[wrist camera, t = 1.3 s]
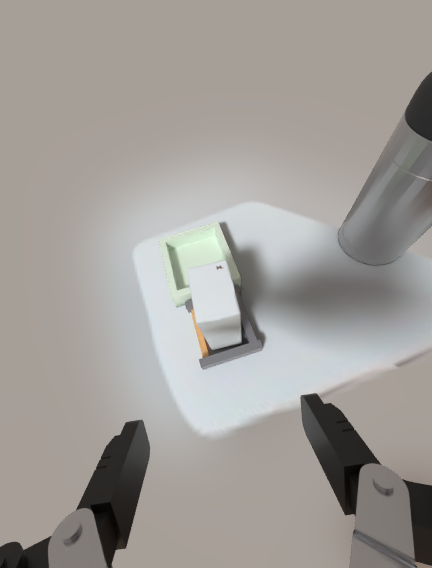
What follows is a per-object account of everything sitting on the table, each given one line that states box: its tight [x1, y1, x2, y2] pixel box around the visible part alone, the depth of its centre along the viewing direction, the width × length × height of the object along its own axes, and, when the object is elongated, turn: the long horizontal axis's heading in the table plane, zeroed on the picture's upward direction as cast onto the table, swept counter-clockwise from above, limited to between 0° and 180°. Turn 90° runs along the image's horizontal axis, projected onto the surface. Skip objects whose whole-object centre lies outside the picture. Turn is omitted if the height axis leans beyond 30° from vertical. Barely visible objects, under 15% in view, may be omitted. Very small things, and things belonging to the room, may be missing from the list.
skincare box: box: [187, 260, 242, 350], centre depth 26 cm, size 6×4×12 cm
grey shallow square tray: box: [185, 285, 263, 370], centre depth 31 cm, size 8×9×2 cm
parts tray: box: [158, 222, 241, 307], centre depth 35 cm, size 10×11×3 cm
